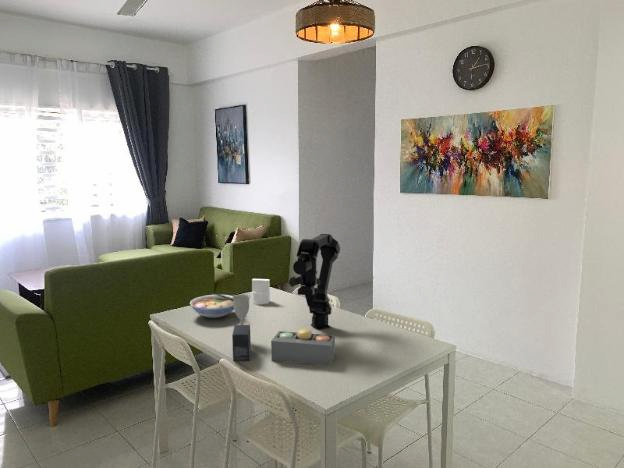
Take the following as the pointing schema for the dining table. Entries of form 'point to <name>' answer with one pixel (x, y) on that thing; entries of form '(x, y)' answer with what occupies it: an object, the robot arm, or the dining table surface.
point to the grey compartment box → (303, 349)
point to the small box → (241, 343)
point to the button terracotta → (323, 338)
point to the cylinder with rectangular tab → (260, 291)
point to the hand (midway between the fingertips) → (309, 306)
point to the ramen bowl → (213, 305)
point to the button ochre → (304, 334)
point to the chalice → (241, 306)
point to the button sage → (286, 335)
